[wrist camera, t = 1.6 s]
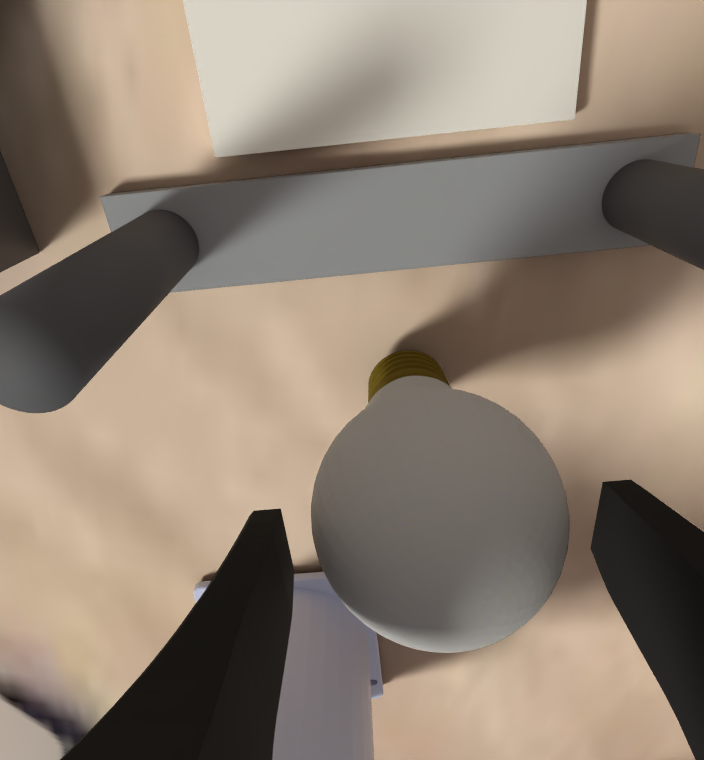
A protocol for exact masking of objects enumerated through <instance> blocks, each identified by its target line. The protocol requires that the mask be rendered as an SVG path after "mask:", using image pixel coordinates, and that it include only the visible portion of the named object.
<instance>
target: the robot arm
mask: <svg viewBox="0 0 704 760" xmlns="http://www.w3.org/2000/svg"><path fill="white" fill-rule="evenodd" d="M591 550H592V553H593V555H594V558H595V560H596V563H597V566H598V568H599V571H600V573H601V576H602V578H603V580H604V583H605V585H606V588H607V590H608V592H609V594H610V596H611V598H612V600H613V602H614V604H615V605H616V607H617V609H618V611H619V613H620V614H621V616H622V618H623V620H624V622H625V624H626V625H627V627H628V629H629V631H630V633H631V634H632V636H633V638H634V640H635V642H636V643H637V645H638V647H639V649H640V651H641V652H642V654H643V656H644V658H645V660H646V661H647V663H648V665H649V667H650V668H651V670H652V672H653V674H654V676H655V677H656V679H657V681H658V683H659V685H660V686H661V688H662V690H663V692H664V694H665V695H666V697H667V699H668V701H669V703H670V705H671V707H672V709H673V711H674V713H675V715H676V717H677V719H678V721H679V723H680V726H681V728H682V730H683V732H684V735H685V737H686V739H687V741H688V744H689V746H690V748H691V750H692V753H693V755H694V757H695V759H696V760H704V532H703V531H701V530H700V529H699V528H697V527H696V526H694V525H693V524H692V523H690V522H689V521H687V520H686V519H685V518H683V517H682V516H681V515H679V514H678V513H676V512H675V511H674V510H672V509H671V508H670V507H668V506H667V505H666V504H664V503H663V502H661V501H660V500H659V499H657V498H656V497H655V496H653V495H652V494H650V493H649V492H648V491H646V490H645V489H644V488H642V487H641V486H639V485H638V484H636V483H635V482H634V481H632V480H621V481H609V482H603V484H602V489H601V495H600V500H599V506H598V511H597V517H596V522H595V527H594V533H593V538H592V544H591ZM193 596H194V599H195V601H196V604H195V605H194V607H193V608H192V610H191V611H190V612H189V614H188V615H187V617H186V618H185V619H184V621H183V622H182V624H181V625H180V626H179V628H178V629H177V631H176V632H175V633H174V634H173V636H172V637H171V638H170V640H169V641H168V642H167V644H166V645H165V646H164V647H163V649H162V650H161V651H160V652H159V654H158V655H157V656H156V657H155V659H154V660H153V661H152V662H151V663H150V665H149V666H148V667H147V668H146V669H145V671H144V672H143V673H142V674H141V675H140V677H139V678H138V679H137V680H136V681H135V682H134V683H133V684H132V686H131V687H130V688H129V689H128V690H127V691H126V692H125V693H124V695H123V696H122V697H121V698H120V699H119V700H118V701H117V702H116V704H115V705H114V706H113V707H112V708H111V709H110V710H109V711H108V712H107V713H106V714H105V715H104V716H103V718H102V719H101V720H100V721H99V722H98V723H97V724H96V725H95V726H94V727H93V728H92V729H91V730H90V731H89V732H88V733H87V734H86V735H85V736H84V737H83V738H82V739H81V740H80V741H79V742H78V743H77V744H76V745H75V746H74V747H73V748H72V749H71V750H70V751H69V752H68V753H67V754H66V755H65V756H64V757H63V758H61V759H60V760H374V747H373V726H372V706H371V699H375V698H379V697H381V696H382V695H383V682H382V674H381V665H380V656H379V647H378V638H377V632H375V631H374V630H372V629H371V628H369V627H368V626H366V625H365V624H364V623H363V622H362V621H360V620H359V619H358V618H357V617H356V616H355V615H354V614H353V613H352V612H350V610H349V609H348V608H347V607H346V606H345V605H344V603H343V602H342V601H341V600H340V598H339V597H338V596H337V594H336V593H335V591H334V590H333V589H332V587H331V585H330V583H329V581H328V579H327V577H326V575H325V573H324V572H313V573H300V574H294V568H293V563H292V559H291V554H290V550H289V545H288V540H287V536H286V531H285V527H284V522H283V517H282V513H281V509H271V510H259V511H254V512H253V513H252V514H251V515H250V516H249V518H248V520H247V522H246V524H245V525H244V527H243V529H242V531H241V533H240V534H239V536H238V538H237V540H236V541H235V543H234V545H233V546H232V548H231V550H230V551H229V553H228V555H227V556H226V558H225V560H224V561H223V563H222V565H221V566H220V568H219V569H218V571H217V572H216V574H215V576H214V577H213V579H212V580H211V581H203V582H199V583H197V584H196V586H195V588H194V591H193Z"/></svg>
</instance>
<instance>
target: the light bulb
mask: <svg viewBox="0 0 704 760" xmlns="http://www.w3.org/2000/svg"><path fill="white" fill-rule="evenodd" d="M368 398H369V399H368V405H367V406H366V408H365V409H364V410H363V411H362V412H360V413H359V414H358V415H357V416H356V417H355V418H353V419H352V420H351V421H350V422H349V423H348V424H347V425H346V426H345V427H344V428H343V429H342V431H341V432H340V433H339V434H338V435H337V436H336V438H335V439H334V441H333V442H332V444H331V446H330V447H329V449H328V451H327V452H326V454H325V456H324V458H323V460H322V463H321V466H320V468H319V471H318V474H317V476H316V480H315V484H314V490H313V496H312V503H311V521H312V535H313V540H314V544H315V548H316V552H317V555H318V559H319V562H320V565H321V567H322V569H323V571H324V573H325V575H326V577H327V579H328V581H329V583H330V585H331V587H332V589H333V590H334V591H335V593H336V594H337V596H338V597H339V598H340V600H341V601H342V602H343V603H344V605H345V606H346V607H347V608H348V609H349V610H350V612H352V613H353V614H354V615H355V616H356V617H357V618H358V619H359V620H360V621H362V622H363V623H364V624H365V625H366V626H368V627H369V628H371V629H372V630H374V631H375V632H377V633H378V634H380V635H381V636H383V637H385V638H387V639H389V640H391V641H394V642H396V643H398V644H401V645H404V646H407V647H410V648H413V649H417V650H422V651H427V652H438V653H456V652H465V651H470V650H475V649H479V648H482V647H485V646H488V645H491V644H493V643H495V642H498V641H500V640H502V639H504V638H506V637H507V636H509V635H511V634H513V633H514V632H515V631H517V630H518V629H519V628H521V627H522V626H523V625H525V624H526V623H527V622H528V621H529V620H530V619H531V618H532V617H533V616H534V615H535V614H536V613H537V612H538V611H539V610H540V608H541V607H542V606H543V604H544V603H545V602H546V600H547V599H548V597H549V596H550V595H551V593H552V591H553V589H554V587H555V585H556V583H557V581H558V579H559V577H560V574H561V571H562V568H563V565H564V561H565V558H566V554H567V549H568V540H569V512H568V505H567V499H566V494H565V490H564V486H563V484H562V481H561V478H560V476H559V473H558V471H557V468H556V466H555V464H554V462H553V460H552V458H551V456H550V455H549V453H548V452H547V450H546V449H545V447H544V446H543V445H542V443H541V442H540V440H539V439H538V438H537V436H536V435H535V434H534V433H533V432H532V431H531V430H530V429H529V428H528V427H527V426H526V425H525V424H524V423H523V422H522V421H521V420H520V419H519V418H517V417H516V416H515V415H513V414H512V413H510V412H509V411H507V410H506V409H504V408H503V407H501V406H500V405H498V404H496V403H494V402H492V401H490V400H488V399H486V398H483V397H481V396H479V395H475V394H472V393H468V392H465V391H461V390H455V389H452V388H451V387H450V386H449V384H448V382H447V380H446V377H445V376H444V373H443V371H442V369H441V367H440V366H439V364H438V363H437V362H436V361H435V360H434V359H433V358H431V357H430V356H428V355H426V354H424V353H421V352H417V351H400V352H396V353H393V354H391V355H389V356H387V357H385V358H384V359H382V360H381V361H380V362H379V363H378V364H377V365H376V367H375V368H374V369H373V371H372V373H371V376H370V379H369V396H368Z"/></svg>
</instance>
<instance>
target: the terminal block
mask: <svg viewBox="0 0 704 760" xmlns="http://www.w3.org/2000/svg"><path fill="white" fill-rule="evenodd" d="M38 253H39V250H38V248H37V245H36V242H35V240H34V237H33V235H32V232H31V230H30V227H29V225H28V222H27V219H26V217H25V214H24V212H23V209H22V207H21V204H20V202H19V199H18V197H17V194H16V191H15V189H14V186H13V184H12V181H11V179H10V176H9V174H8V171H7V168H6V166H5V163H4V161H3V158H2V156H1V153H0V272H2V271H4V270H6V269H8V268H10V267H12V266H14V265H16V264H18V263H20V262H22V261H24V260H26V259H28V258H30V257H32V256H34V255H36V254H38Z"/></svg>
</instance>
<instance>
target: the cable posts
mask: <svg viewBox="0 0 704 760" xmlns="http://www.w3.org/2000/svg"><path fill="white" fill-rule="evenodd" d="M700 135H701V134H694V133H683V134H673V135H664V136H654V137H644V138H635V139H625V140H616V141H606V142H597V143H587V144H578V145H568V146H559V147H549V148H540V149H530V150H521V151H511V152H501V153H492V154H482V155H473V156H463V157H454V158H444V159H435V160H425V161H416V162H406V163H397V164H387V165H378V166H368V167H358V168H349V169H339V170H330V171H320V172H311V173H301V174H292V175H282V176H273V177H263V178H254V179H244V180H235V181H225V182H215V183H206V184H196V185H187V186H177V187H168V188H158V189H149V190H139V191H130V192H120V193H111V194H106V195H104V196H101V197H100V199H101V202H102V205H103V208H104V211H105V215H106V218H107V221H108V224H109V227H110V230H111V233H109V234H107V235H106V236H104V237H102V238H100V239H99V240H97V241H95V242H93V243H92V244H90V245H88V246H86V247H85V248H83V249H81V250H79V251H78V252H76V253H74V254H72V255H71V256H69V257H67V258H65V259H64V260H62V261H60V262H58V263H57V264H55V265H53V266H51V267H50V268H48V269H46V270H44V271H42V272H41V273H39V274H37V275H35V276H34V277H32V278H30V279H28V280H27V281H25V282H23V283H21V284H20V285H18V286H16V287H14V288H13V289H11V290H9V291H7V292H6V293H4V294H2V295H0V404H1V405H3V406H5V407H8V408H11V409H14V410H17V411H22V412H27V413H45V412H51V411H55V410H58V409H60V408H62V407H64V406H66V405H67V404H69V403H70V402H71V401H72V400H73V399H74V398H75V397H76V396H77V394H78V393H79V392H80V391H81V390H82V389H83V388H84V387H85V386H86V384H87V383H88V382H89V381H90V380H91V379H92V378H93V377H94V376H95V375H96V373H97V372H98V371H99V370H100V369H101V368H102V367H103V366H104V365H105V363H106V362H107V361H108V360H109V359H110V358H111V357H112V356H113V355H114V353H115V352H116V351H117V350H118V349H119V348H120V347H121V346H122V345H123V343H124V342H125V341H126V340H127V339H128V338H129V337H130V336H131V335H132V333H133V332H134V331H135V330H136V329H137V328H138V327H139V326H140V325H141V324H142V322H143V321H144V320H145V319H146V318H147V317H148V316H149V315H150V314H151V312H152V311H153V310H154V309H155V308H156V307H157V306H158V305H159V304H160V302H161V301H162V300H163V299H164V298H165V297H166V296H167V295H168V294H169V292H179V291H190V290H200V289H210V288H220V287H230V286H241V285H251V284H261V283H271V282H281V281H291V280H302V279H312V278H322V277H332V276H342V275H352V274H363V273H373V272H383V271H393V270H403V269H413V268H424V267H434V266H444V265H454V264H464V263H475V262H485V261H495V260H505V259H515V258H525V257H536V256H546V255H556V254H566V253H576V252H586V251H597V250H607V249H617V248H627V247H637V246H647V245H652V246H654V247H656V248H658V249H661V250H663V251H665V252H667V253H669V254H671V255H673V256H675V257H678V258H680V259H682V260H684V261H686V262H688V263H690V264H693V265H695V266H697V267H699V268H701V269H703V270H704V170H703V169H698V168H694V163H695V158H696V154H697V149H698V144H699V139H700Z"/></svg>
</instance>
